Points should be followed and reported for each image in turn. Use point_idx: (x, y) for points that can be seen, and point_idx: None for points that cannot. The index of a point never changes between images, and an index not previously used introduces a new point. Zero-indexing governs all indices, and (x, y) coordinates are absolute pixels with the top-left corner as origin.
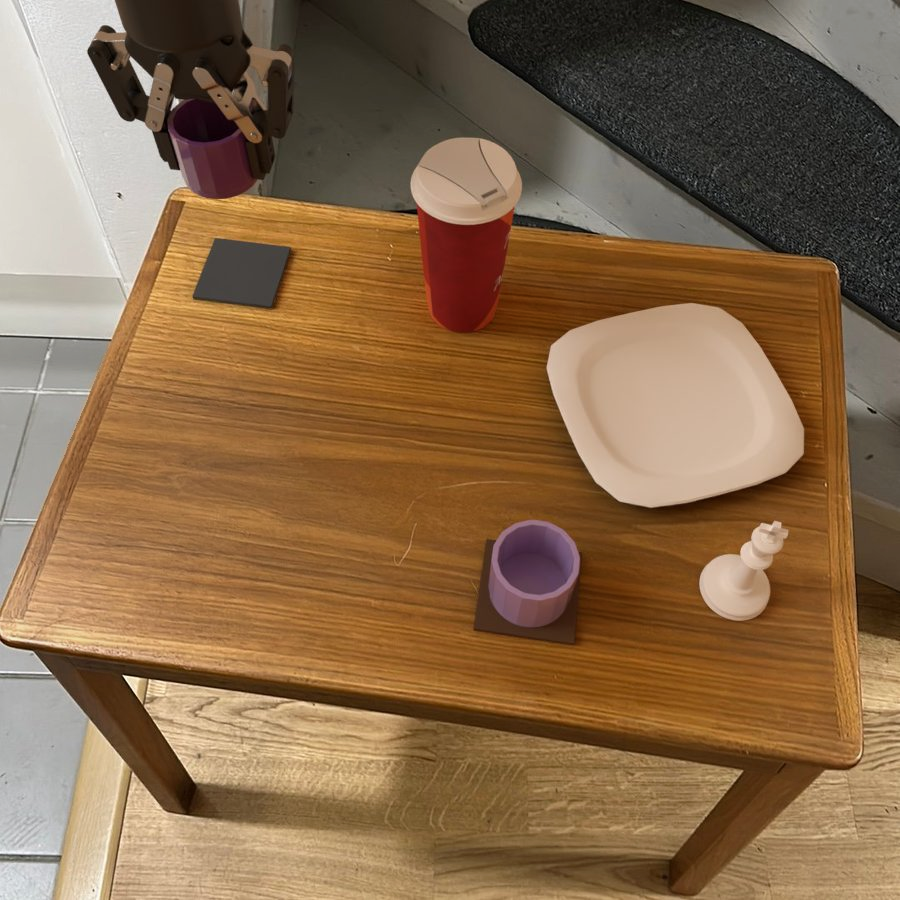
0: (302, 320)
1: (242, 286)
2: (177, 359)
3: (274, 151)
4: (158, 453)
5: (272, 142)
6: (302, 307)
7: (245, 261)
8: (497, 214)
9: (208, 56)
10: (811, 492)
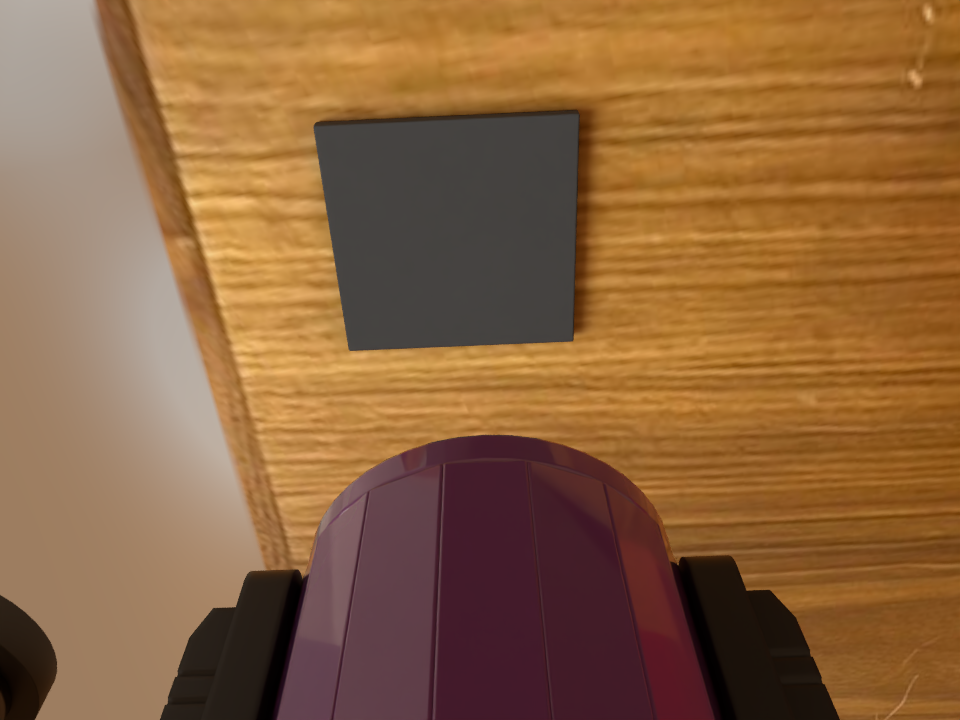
0: (660, 350)
1: (473, 294)
2: None
3: (809, 651)
4: None
5: (831, 708)
6: (653, 313)
7: (450, 205)
8: None
9: None
10: None
